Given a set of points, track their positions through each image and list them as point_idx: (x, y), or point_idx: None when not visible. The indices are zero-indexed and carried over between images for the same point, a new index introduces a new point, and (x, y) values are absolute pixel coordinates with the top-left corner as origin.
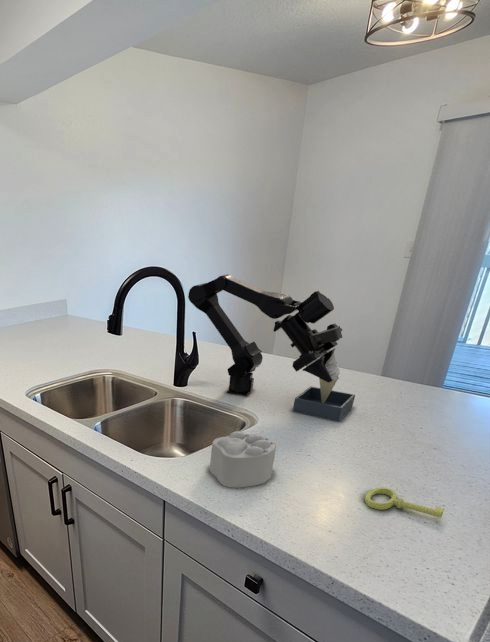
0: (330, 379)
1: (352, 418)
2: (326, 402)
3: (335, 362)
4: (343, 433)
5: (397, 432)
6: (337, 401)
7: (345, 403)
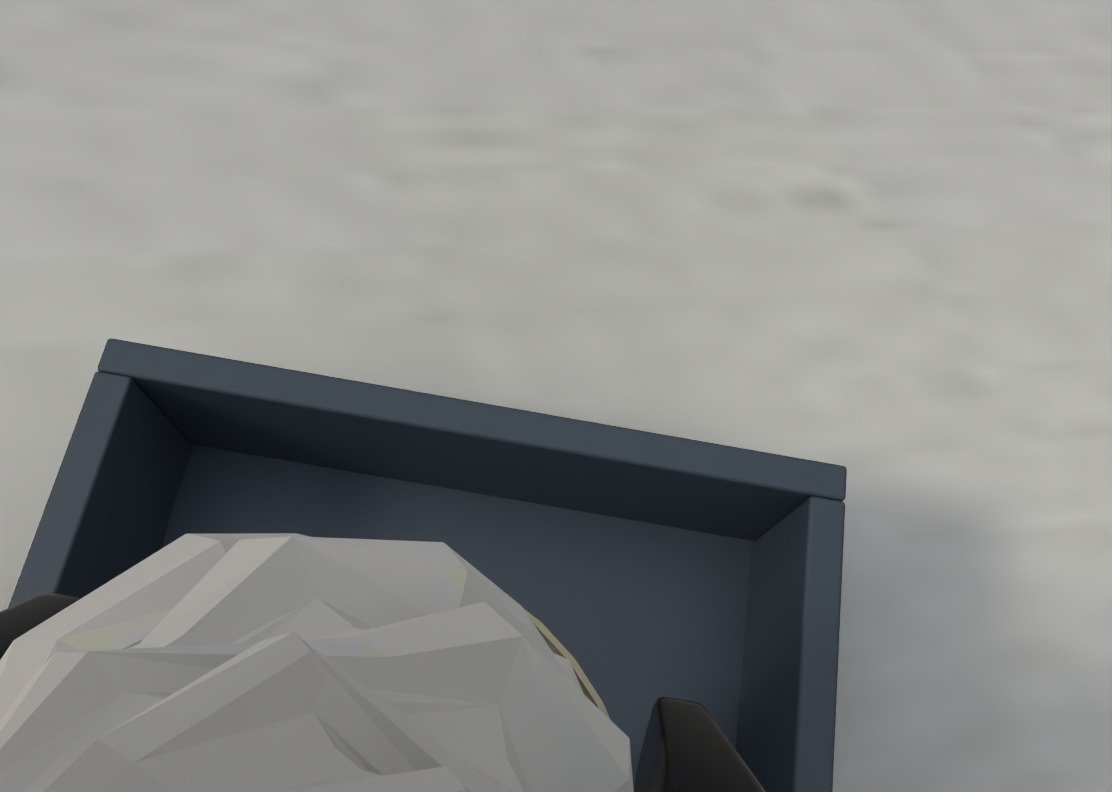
0: (720, 747)
1: (579, 388)
2: None
3: (270, 712)
4: (1092, 438)
5: (748, 10)
6: None
7: (618, 436)
